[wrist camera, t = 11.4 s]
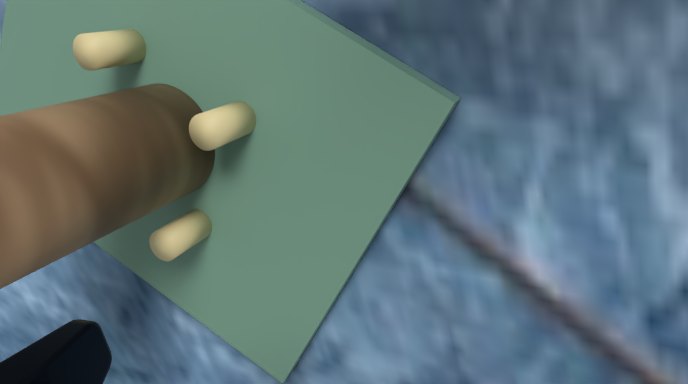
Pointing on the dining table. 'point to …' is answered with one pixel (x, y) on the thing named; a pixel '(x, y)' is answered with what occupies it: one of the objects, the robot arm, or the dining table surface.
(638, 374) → the dining table surface
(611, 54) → the dining table surface
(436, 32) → the dining table surface
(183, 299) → the standoff plate
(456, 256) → the dining table surface
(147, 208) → the walnut cylinder
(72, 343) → the robot arm
